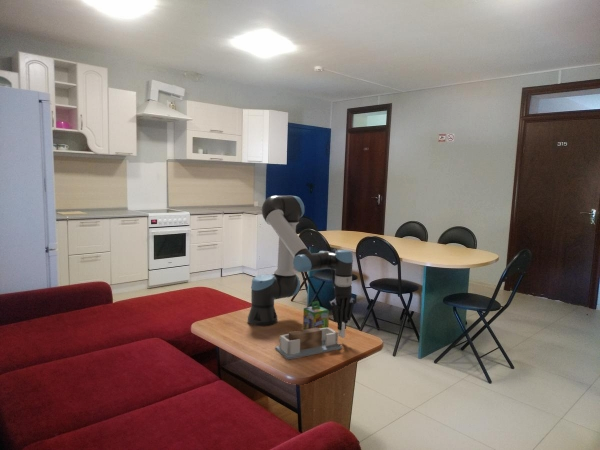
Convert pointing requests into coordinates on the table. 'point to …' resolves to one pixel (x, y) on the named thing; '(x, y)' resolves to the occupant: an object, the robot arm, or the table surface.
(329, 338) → the end cap
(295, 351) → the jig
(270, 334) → the table surface
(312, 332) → the slat
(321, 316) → the chalk box
